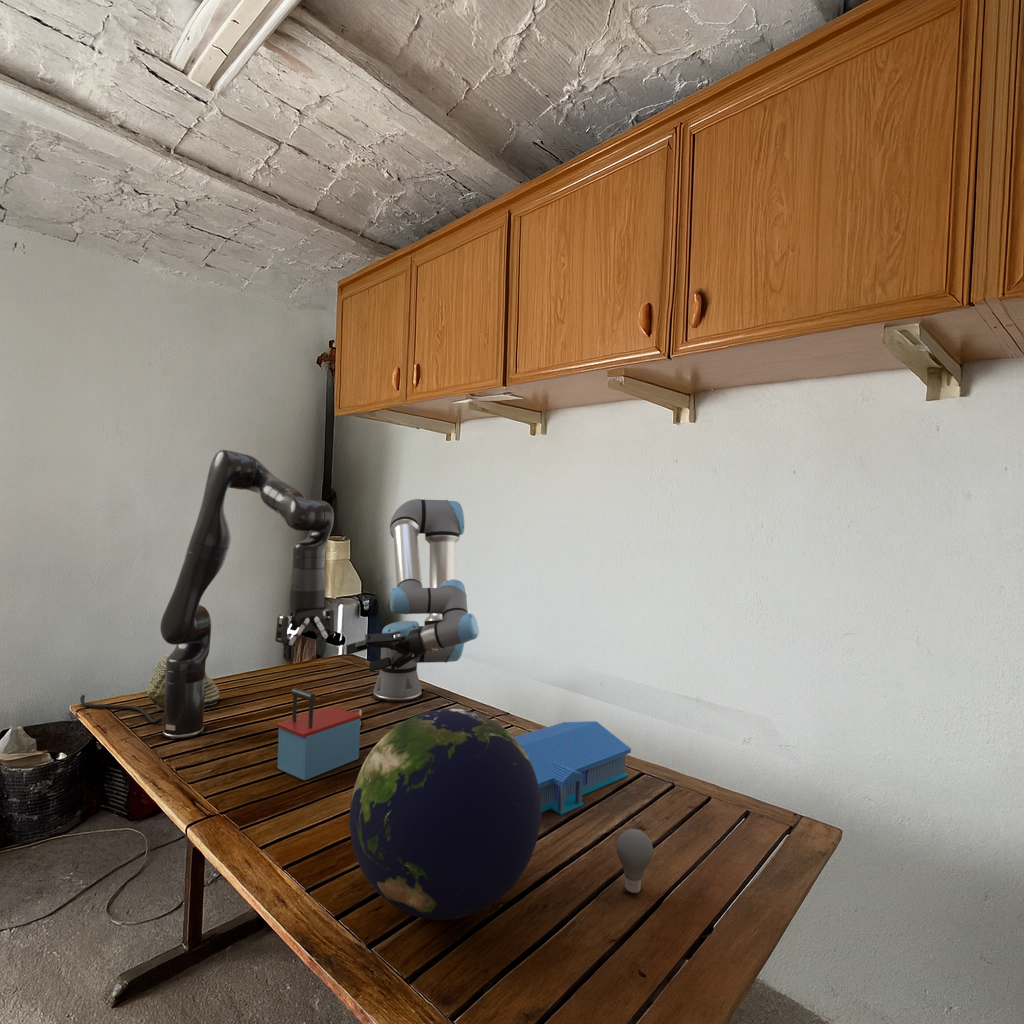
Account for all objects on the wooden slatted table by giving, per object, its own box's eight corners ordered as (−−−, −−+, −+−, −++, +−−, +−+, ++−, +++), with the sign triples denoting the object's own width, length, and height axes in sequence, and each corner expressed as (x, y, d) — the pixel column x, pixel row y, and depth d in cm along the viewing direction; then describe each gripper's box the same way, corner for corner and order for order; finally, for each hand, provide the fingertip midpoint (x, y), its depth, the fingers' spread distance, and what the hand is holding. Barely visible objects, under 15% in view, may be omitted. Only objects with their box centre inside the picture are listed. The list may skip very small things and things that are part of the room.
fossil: (144, 707, 182) (145, 655, 182) (212, 696, 194) (213, 647, 194) (151, 716, 175) (153, 662, 175) (221, 703, 188) (223, 653, 188)
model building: (516, 834, 122) (519, 783, 122) (441, 787, 140) (443, 743, 140) (639, 780, 148) (641, 738, 148) (562, 747, 166) (564, 709, 166)
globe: (303, 931, 92) (311, 727, 92) (410, 834, 120) (417, 677, 120) (490, 1000, 81) (500, 768, 81) (561, 876, 109) (569, 702, 108)
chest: (304, 780, 141) (306, 736, 141) (277, 768, 146) (278, 726, 146) (358, 758, 154) (360, 718, 154) (331, 748, 159) (333, 709, 159)
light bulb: (610, 879, 108) (613, 822, 108) (644, 879, 109) (647, 822, 109) (619, 902, 102) (622, 840, 102) (655, 901, 103) (658, 840, 103)
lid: (303, 737, 140) (305, 698, 140) (276, 726, 146) (277, 689, 146) (360, 718, 154) (361, 682, 154) (333, 709, 159) (334, 674, 159)
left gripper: (291, 592, 137) (288, 666, 137) (343, 586, 149) (340, 655, 149) (270, 588, 141) (267, 660, 142) (322, 582, 153) (319, 649, 153)
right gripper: (407, 634, 170) (336, 654, 173) (443, 667, 190) (378, 685, 193) (406, 609, 175) (337, 630, 178) (441, 644, 194) (378, 662, 197)
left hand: (304, 657), depth 145 cm, fingers open, 8 cm apart
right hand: (358, 658), depth 185 cm, fingers open, 13 cm apart
